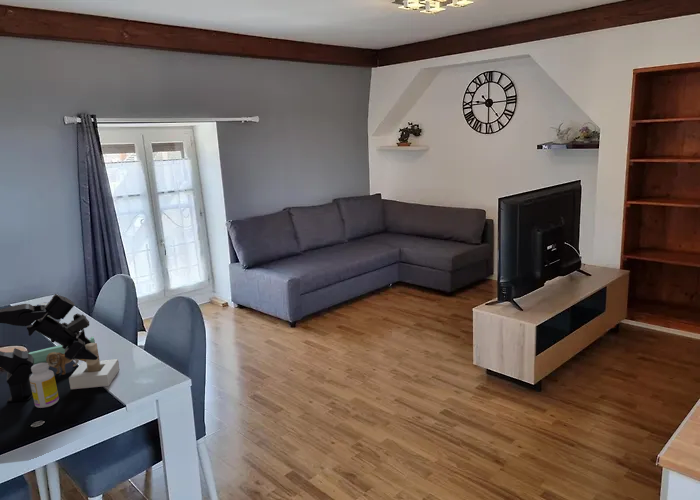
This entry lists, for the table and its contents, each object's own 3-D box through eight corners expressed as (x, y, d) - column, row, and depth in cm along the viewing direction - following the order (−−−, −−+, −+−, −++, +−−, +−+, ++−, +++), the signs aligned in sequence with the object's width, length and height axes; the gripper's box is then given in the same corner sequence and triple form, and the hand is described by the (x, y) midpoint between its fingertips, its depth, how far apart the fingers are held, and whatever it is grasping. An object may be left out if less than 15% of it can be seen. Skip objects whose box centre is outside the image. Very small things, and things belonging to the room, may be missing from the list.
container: (17, 353, 184) (93, 335, 197) (19, 354, 189) (93, 336, 202) (20, 369, 184) (96, 350, 196) (22, 369, 189) (96, 351, 201)
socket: (108, 385, 170) (106, 374, 169) (70, 389, 169) (68, 378, 168) (119, 369, 182) (117, 359, 181) (84, 372, 180) (82, 362, 179)
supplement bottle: (62, 396, 164) (55, 359, 161) (54, 407, 158) (46, 369, 155) (40, 398, 163) (33, 361, 160) (30, 409, 157) (23, 371, 154)
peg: (100, 381, 174) (94, 347, 171) (87, 382, 173) (81, 348, 170) (103, 375, 177) (98, 342, 174) (91, 376, 177) (86, 343, 174)
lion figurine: (55, 380, 175) (51, 356, 173) (45, 377, 178) (41, 353, 176) (93, 362, 188) (89, 339, 186) (83, 360, 191) (79, 337, 188)
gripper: (70, 319, 159) (114, 344, 167) (71, 302, 176) (110, 325, 183) (45, 348, 158) (91, 372, 165) (48, 328, 174) (89, 351, 181)
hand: (96, 353), depth 174 cm, fingers open, 9 cm apart
